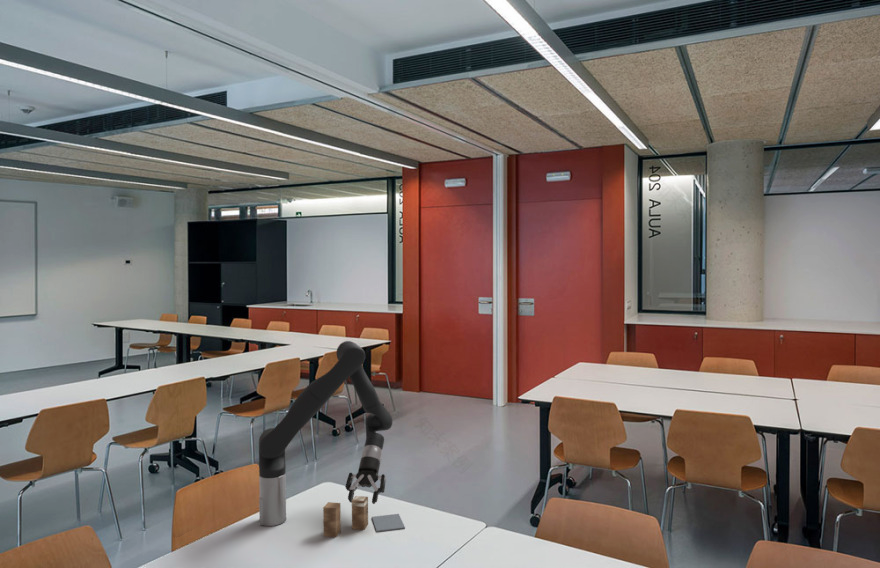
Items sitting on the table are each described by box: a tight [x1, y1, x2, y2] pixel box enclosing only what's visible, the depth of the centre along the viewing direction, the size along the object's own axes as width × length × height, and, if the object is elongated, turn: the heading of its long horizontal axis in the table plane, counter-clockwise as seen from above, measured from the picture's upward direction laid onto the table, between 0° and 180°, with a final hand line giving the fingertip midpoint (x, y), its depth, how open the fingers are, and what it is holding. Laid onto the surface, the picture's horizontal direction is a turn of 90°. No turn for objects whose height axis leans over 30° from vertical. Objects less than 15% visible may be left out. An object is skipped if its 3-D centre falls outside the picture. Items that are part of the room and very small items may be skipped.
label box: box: [351, 495, 369, 531], centre depth 205 cm, size 5×5×10 cm
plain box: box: [322, 501, 342, 538], centre depth 199 cm, size 4×4×10 cm
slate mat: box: [371, 513, 406, 533], centre depth 208 cm, size 10×12×1 cm
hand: (361, 502), depth 207 cm, fingers open, 8 cm apart
